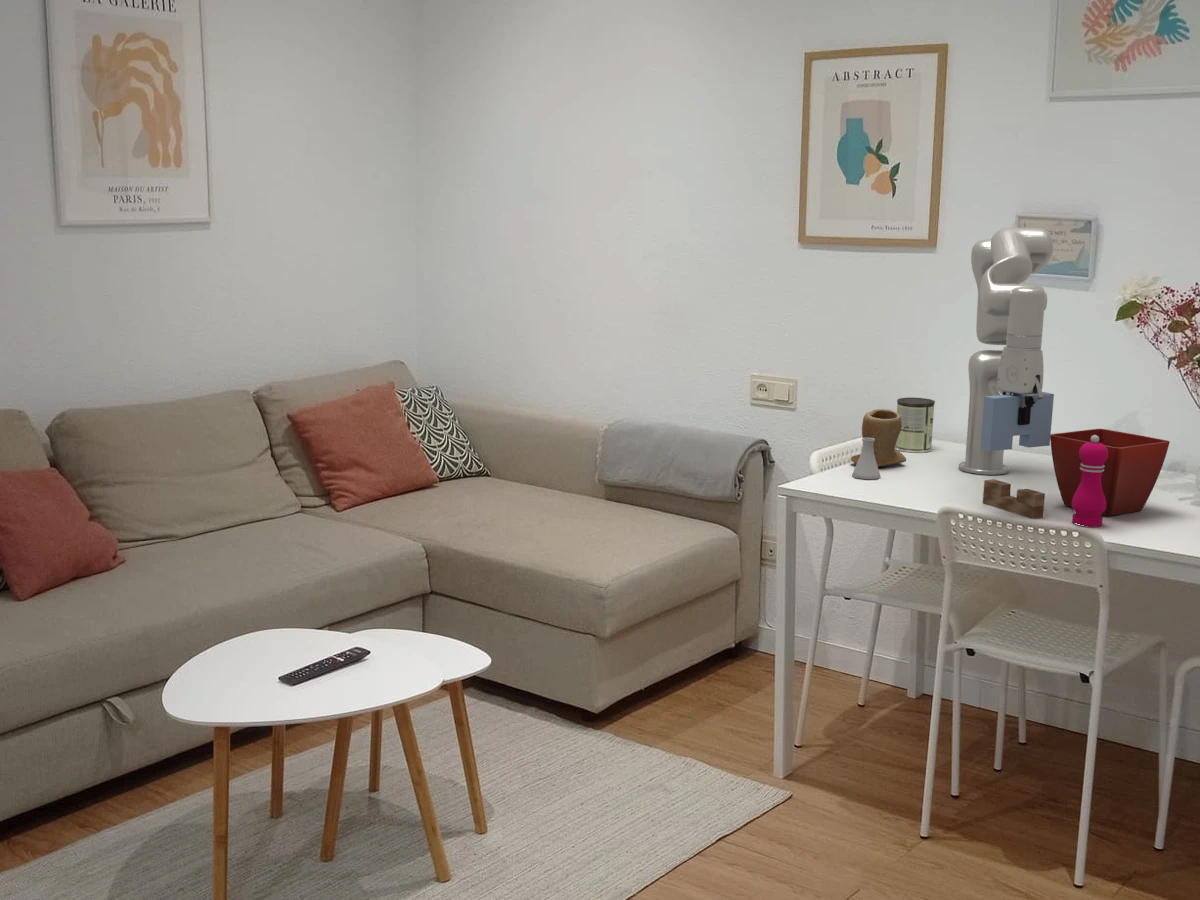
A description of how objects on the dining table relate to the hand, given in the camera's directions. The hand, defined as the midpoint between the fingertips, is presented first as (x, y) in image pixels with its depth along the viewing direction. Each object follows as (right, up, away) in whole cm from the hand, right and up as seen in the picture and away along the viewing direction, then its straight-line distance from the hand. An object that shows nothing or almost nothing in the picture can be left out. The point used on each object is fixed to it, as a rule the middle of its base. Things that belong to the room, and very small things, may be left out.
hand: (1017, 422), depth 298 cm
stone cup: (-20, -11, +50) cm, 55 cm away
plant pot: (+22, -20, +7) cm, 31 cm away
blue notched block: (0, -6, +1) cm, 6 cm away
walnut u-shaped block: (0, -20, +4) cm, 20 cm away
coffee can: (-6, -6, +73) cm, 73 cm away
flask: (-27, -13, +36) cm, 47 cm away
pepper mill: (+13, -23, -8) cm, 27 cm away
